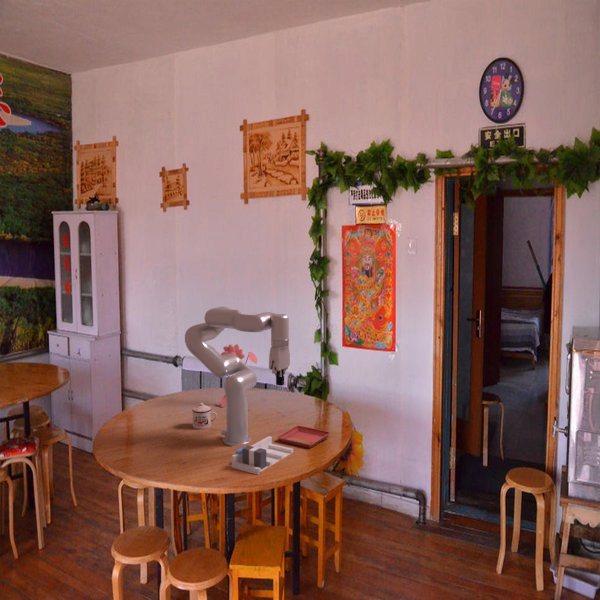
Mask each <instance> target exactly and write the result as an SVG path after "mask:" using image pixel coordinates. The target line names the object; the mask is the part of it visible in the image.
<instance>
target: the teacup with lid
mask: <svg viewBox="0 0 600 600" xmlns="http://www.w3.org/2000/svg"><path fill="white" fill-rule="evenodd" d="M191 411H192V427H193V428H194V429H196V430H205V429H209V428H211V426H212V422H215V421H216V420H217V418H218V414H217V412H215V411H212V408H211V406H209V405H206V404H204V403H203V402H200V403H199V404H198V405H197V406H194V407H193V408H192V409H191ZM212 414H214V415H215V418H214V419H212Z"/></svg>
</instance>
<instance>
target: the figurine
mask: <svg viewBox="0 0 600 600" xmlns="http://www.w3.org/2000/svg"><path fill="white" fill-rule="evenodd" d="M223 350H224V351H222V352H221V353H220V354H221V355H226V354H234V355H236V356H238V357H239V358H240V359H241V360H242V359H243V360H244V358H245V357H246V354H244V353H243V351H244V350H243V349H242V348H240V346H239V344H237V343H236V344H234V345H232V344H229V345H227V346H223ZM247 354H248V355H247V357H246V361H245V362H244V363H245V364H246V365H247V362H248V360H250V361H251V362H252V363H255V364H257V363H258V358H257V356H256V354H255V353H254V352H251V351H249V352H248V353H247ZM220 406H221V408H224V407H226V395H225V394H224V395H223V396H222V398H221V401H220ZM249 411H250V409H249V410H248V412H249Z"/></svg>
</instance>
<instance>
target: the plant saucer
mask: <svg viewBox="0 0 600 600" xmlns="http://www.w3.org/2000/svg"><path fill="white" fill-rule="evenodd" d="M330 434H331V432H330V431H326V430H321V429H317V428H312V427H307V426H302V425H296V426H294V427H292V428H291V429H288V430H287V431H285V432H283V433H282V434H279V435H277V439H278V440H279V441H280V442H281V443H286V444H291V445H295V446H298V447H303V448H309V449H311V448H312V447H314V446H315V445H317V444H319V442H320V443H321V442H323V441H324V440H326V439H327V437H328V436H329V435H330ZM288 438H291V439H288ZM292 439H299V440H302V441H305V442H306V441H307V442H311V443H305V442H300V441H296V440H292ZM322 440H323V441H322Z"/></svg>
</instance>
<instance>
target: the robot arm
mask: <svg viewBox="0 0 600 600" xmlns="http://www.w3.org/2000/svg"><path fill="white" fill-rule="evenodd" d="M289 323H290V320H289V315H287V314H285V313H274V312H270V311H264V312H260V313H257V314H245V313H243V314H242V312H241V311H240V310H239V309H231V308H229V307H227V306H218V307H214V308H213V307H212V308H210V309H209V310H207V311H206V313H205V314H204V322H202V323H198V324H195V325H192V326H190V327H189V328H187V330H186V331H185V334H184V343H185V346H186V348H187V350H188V351H189V352H190V354H192V356H194V357H195V358H196V359H197V360H199V362H201V364H202V365H203V366H205V368H206V369H207V370H208V371H209V372H211V374H212V375H213V376H214V377H216V378H218V379H221V378H222V379H223V378H225V377H226V378H225V379H224V382H223V389H224V395H226V405H225V408H226V410H225V412H226V413H225V414H226V429H225V428H222V429H221V432H220V435H223V436H224V437H223V444H225V445H226V446H231V447H236V446H245V445H248V444H250V443H251V442H252V437H251V436H250V435H249V426H248V425H249V424H248V423H249V422H248V421H249V414H248V412H249V411H248V408H249V407H248V399H247V396H246V392H247V391H249V390H251V389H253V388H254V387H255V386H256V385H257V382H258V379H257V378H258V377H257V376H256V375H257V374H256V373H255V372H254V370H253V369H252V368H251V367H249V365H248V364H247V363H246V362H245V361H244V360H242V359H240V358H239V357H238V356H236V355H234V354H226V355H221V353H220V352H218V351H217V350H216V349H215V347H213V346H211V345H210V344H208V343H206V342H207V341H211V340H213V339H214V340H215V338H217V337H218V336H219V335H220V334H221V333H222V332H223V331H224V330H225V329H232V330H236V331H238V332H245V333H261V332H265V331H267V330H270V338H271V339H270V342H271V343H270V344H271V346H270V349H269V357H268V369H269V370H271V373H272V374H273V375H274V376H275V385H277V386H280V387H281V386H284V385H285V375H286V371H287V370H288V369H289V367H290V364H291V359H290V358H291V356H290V354H291V353H290V343H289V342H290V339H289V338H290V335H289V333H290V332H289V331H290V330H289V329H290V324H289ZM245 363H246V364H245Z"/></svg>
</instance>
